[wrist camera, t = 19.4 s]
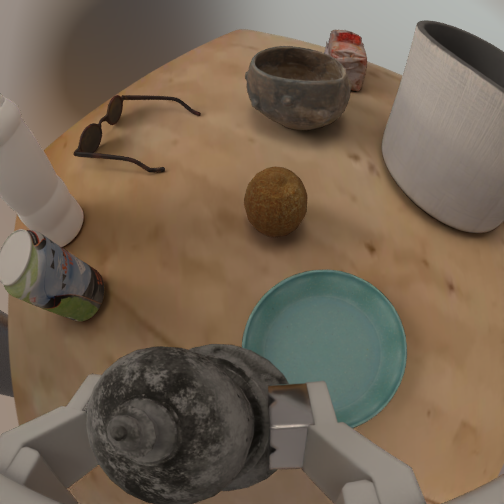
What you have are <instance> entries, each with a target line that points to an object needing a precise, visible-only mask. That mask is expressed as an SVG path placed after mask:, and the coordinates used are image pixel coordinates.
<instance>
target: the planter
mask: <svg viewBox="0 0 504 504" xmlns="http://www.w3.org/2000/svg"><path fill="white" fill-rule="evenodd" d="M382 154H383V158H384V161H385V164H386V166H387V168H388V170H389V172H390V174H391V176H392V177H393V179H394V180H395V182H396V183H397V184H398V186H399V187H400V188H401V189H402V191H403V192H404V193H405V194H406V195H407V196H408V197H409V198H410V199H411V200H412V201H413V202H414V203H415V204H416V205H417V206H418V207H420V208H421V209H422V210H424V211H425V212H426V213H428V214H429V215H430V216H432V217H433V218H435V219H436V220H438V221H440V222H442V223H444V224H446V225H448V226H450V227H453V228H455V229H458V230H461V231H465V232H471V233H484V232H488V231H491V230H493V229H495V228H496V227H497V226H499V225H500V224H501V223H502V222H503V221H504V52H503V51H502V50H500V49H498V48H497V47H495V46H494V45H492V44H490V43H488V42H487V41H484V40H483V39H481V38H479V37H477V36H475V35H473V34H471V33H469V32H466V31H464V30H462V29H459V28H456V27H454V26H450V25H447V24H444V23H440V22H435V21H420V22H418V23H417V25H416V29H415V33H414V37H413V41H412V45H411V49H410V52H409V56H408V59H407V63H406V66H405V70H404V73H403V76H402V80H401V83H400V86H399V89H398V92H397V95H396V98H395V101H394V104H393V107H392V110H391V113H390V116H389V119H388V122H387V125H386V128H385V131H384V135H383V140H382Z"/></svg>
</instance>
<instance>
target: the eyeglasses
mask: <svg viewBox="0 0 504 504" xmlns="http://www.w3.org/2000/svg"><path fill="white" fill-rule="evenodd" d="M123 100H173V101H176V102H178V103H180V104H181V105H182V106H184V107H185V108H186V109H187V110H188V111H190V112H191V113H193V114H195V115H198V116H200V114H201V113H200V112H197V111H195V110H193V109H191V108H190V107H189V106H188V105H187V104H185V103H184V102H183V101H181V100H180V99H178V98H175V97H166V96H135V95H128V96H124V95H122V96H119V95H116V96H114V97H113V98H112V99H111V101H110V102H109V105H108V109H107V114H106V115H105V116H104V117H103V118H102V119H101V120H100V121H99V124H94V123H93V124H90V125H88V126H87V127H86V128H85V129H84V131H83V132H82V134H81V137H80V142H79V146H78V148H77V149H76V150H75V152H74V156H78V157H89V158H103V159H115V160H123V161H129V162H133V163H135V164H137V165H138V166H140V167H141V168H143V169H145V170H146V171H148V172H154V173H155V172H163V171H165V168H164V167H160V168H149V167H148V166H146V165H144V164H143V163H141V162H139V161H138V160H136V159H133V158H129V157H124V156H116V155H108V154H98V153H94V152H95V151H96V150H97V148H98V147H99V145H100V142H101V138H102V129H101V123H102V122H103V121H107V122H108V123H109V124H110V125H115V124H116V123H117V122H118V120H119V118H120V116H121V113H122V107H123Z"/></svg>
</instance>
